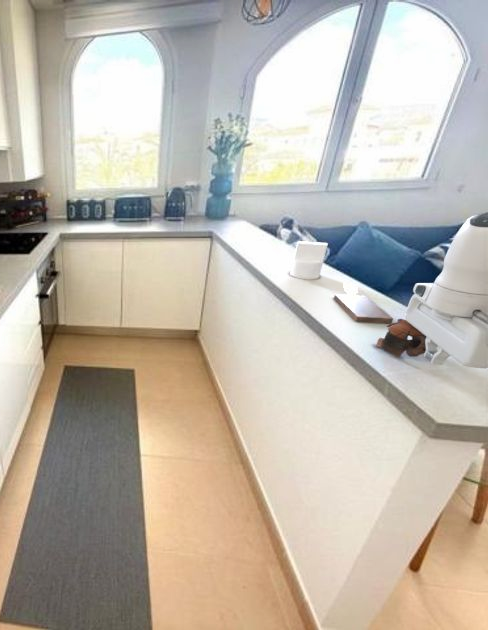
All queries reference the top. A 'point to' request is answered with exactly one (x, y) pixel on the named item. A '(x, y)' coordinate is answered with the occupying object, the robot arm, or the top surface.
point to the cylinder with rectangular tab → (308, 259)
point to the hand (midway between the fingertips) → (432, 361)
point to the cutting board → (362, 309)
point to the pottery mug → (403, 339)
